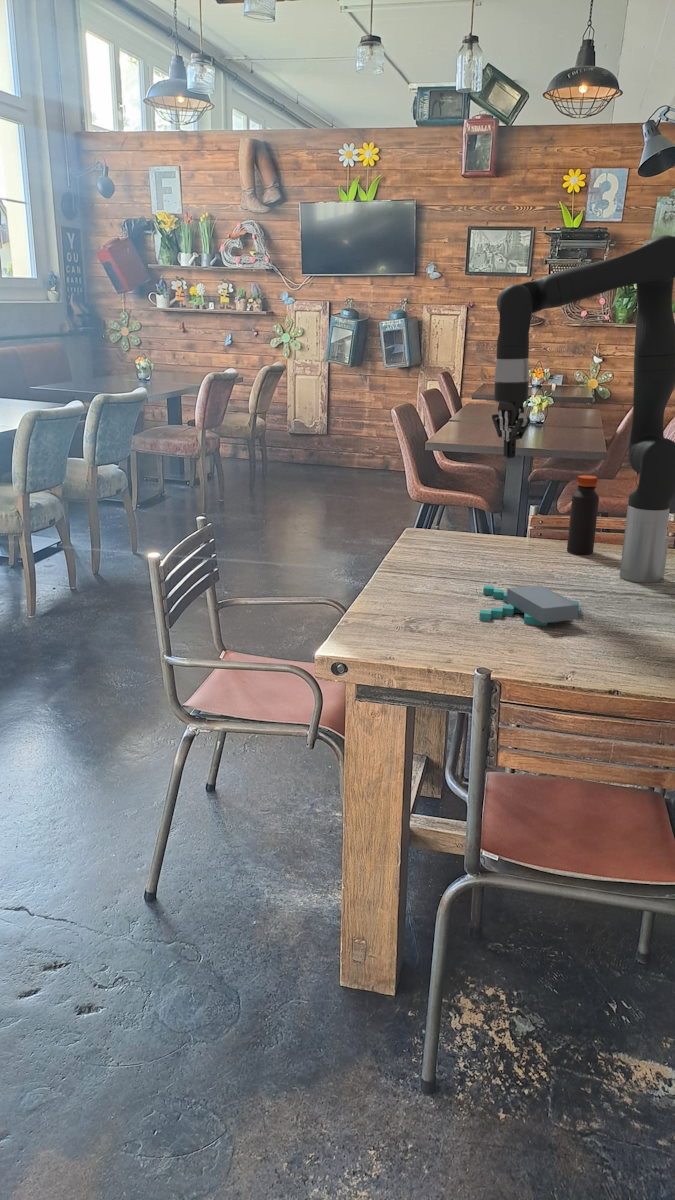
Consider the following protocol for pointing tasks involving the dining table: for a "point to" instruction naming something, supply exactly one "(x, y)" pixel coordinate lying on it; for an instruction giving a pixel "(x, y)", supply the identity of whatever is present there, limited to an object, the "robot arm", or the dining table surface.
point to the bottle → (583, 516)
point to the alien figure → (507, 608)
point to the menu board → (542, 603)
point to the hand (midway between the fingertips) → (509, 457)
